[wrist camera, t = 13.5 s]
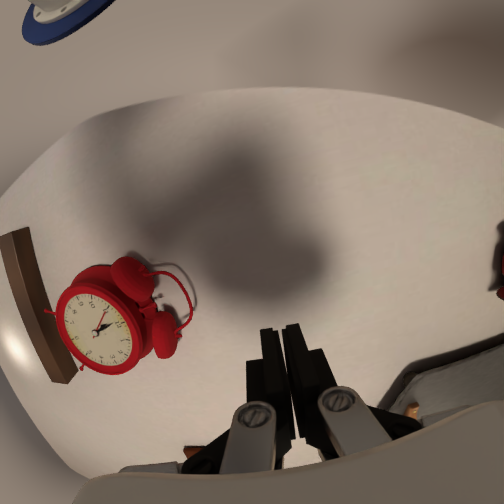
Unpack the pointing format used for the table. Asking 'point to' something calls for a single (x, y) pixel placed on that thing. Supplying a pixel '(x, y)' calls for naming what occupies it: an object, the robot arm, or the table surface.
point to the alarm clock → (116, 317)
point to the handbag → (503, 291)
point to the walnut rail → (35, 305)
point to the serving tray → (453, 385)
